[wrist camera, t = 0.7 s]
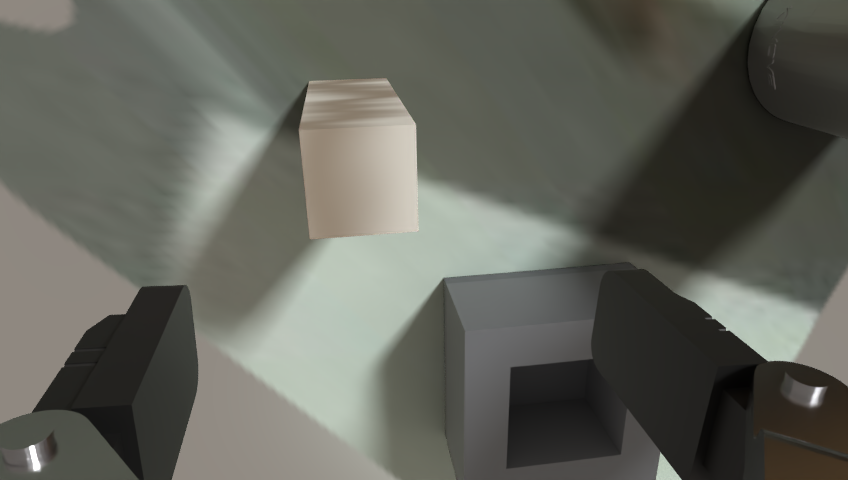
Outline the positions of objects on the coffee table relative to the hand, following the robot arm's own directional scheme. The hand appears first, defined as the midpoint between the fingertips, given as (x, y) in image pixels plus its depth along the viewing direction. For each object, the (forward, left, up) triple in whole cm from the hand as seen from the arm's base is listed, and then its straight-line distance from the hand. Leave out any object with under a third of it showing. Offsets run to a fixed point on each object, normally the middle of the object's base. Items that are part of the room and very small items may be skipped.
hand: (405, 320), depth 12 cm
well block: (-11, +16, -23) cm, 30 cm away
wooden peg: (0, 0, -23) cm, 23 cm away
